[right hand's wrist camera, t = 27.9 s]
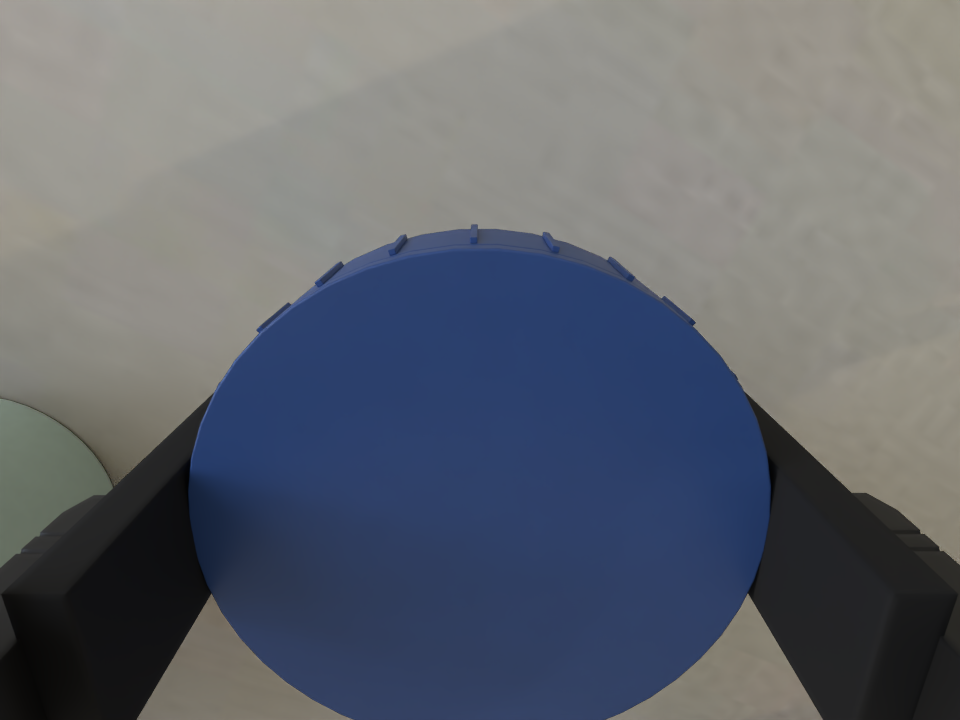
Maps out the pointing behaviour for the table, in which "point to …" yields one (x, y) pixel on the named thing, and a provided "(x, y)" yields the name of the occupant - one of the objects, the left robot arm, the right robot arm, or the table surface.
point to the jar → (40, 474)
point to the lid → (479, 485)
